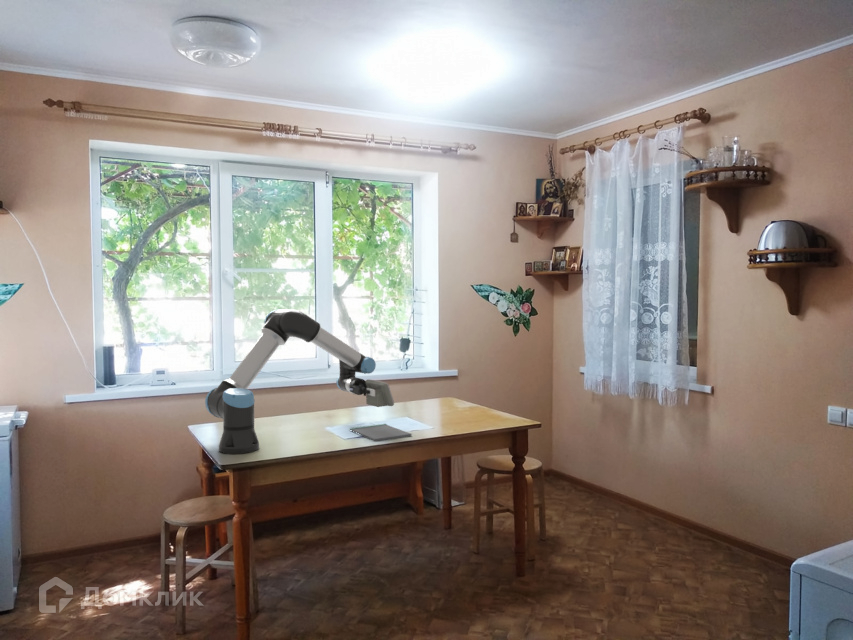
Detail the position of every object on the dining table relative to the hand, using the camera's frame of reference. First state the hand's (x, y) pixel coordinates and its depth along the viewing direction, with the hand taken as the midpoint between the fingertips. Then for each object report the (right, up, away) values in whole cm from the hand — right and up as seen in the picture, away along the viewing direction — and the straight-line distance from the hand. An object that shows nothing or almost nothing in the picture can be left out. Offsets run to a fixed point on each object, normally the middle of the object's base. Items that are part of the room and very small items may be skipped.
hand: (380, 392), depth 259 cm
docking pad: (-1, -19, +5) cm, 19 cm away
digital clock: (-1, -6, +4) cm, 7 cm away
